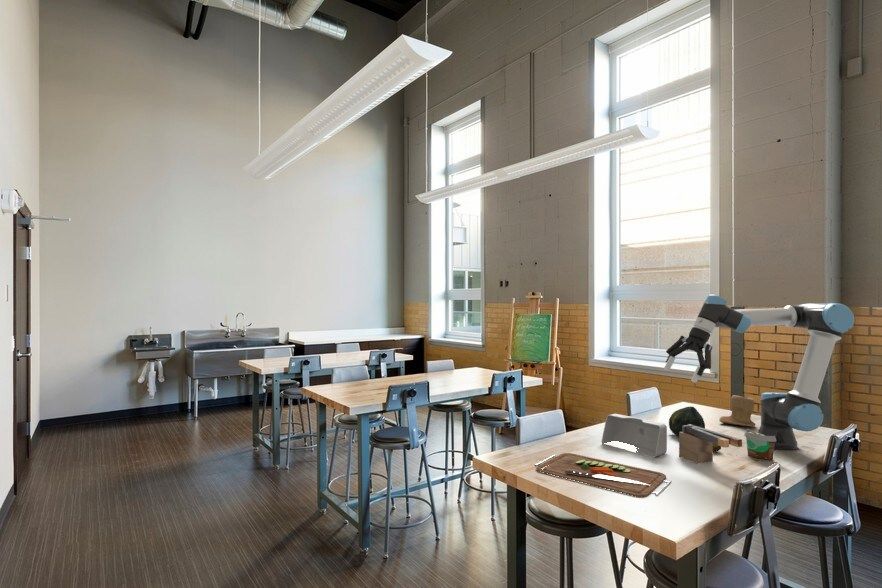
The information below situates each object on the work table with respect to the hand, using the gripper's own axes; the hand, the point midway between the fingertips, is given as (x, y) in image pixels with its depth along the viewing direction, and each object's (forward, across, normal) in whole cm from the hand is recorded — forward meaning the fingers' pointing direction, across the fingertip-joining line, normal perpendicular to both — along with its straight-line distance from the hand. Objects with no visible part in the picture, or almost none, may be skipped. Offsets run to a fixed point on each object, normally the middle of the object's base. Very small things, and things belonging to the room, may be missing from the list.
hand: (679, 376), depth 209 cm
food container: (+16, +23, +33) cm, 44 cm away
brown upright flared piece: (+6, -15, +77) cm, 79 cm away
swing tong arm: (+18, +20, +3) cm, 27 cm away
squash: (+22, -10, +38) cm, 45 cm away
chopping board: (+47, +12, -31) cm, 58 cm away
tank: (+35, -6, +5) cm, 36 cm away
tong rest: (+26, +21, +10) cm, 35 cm away
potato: (+24, +7, +25) cm, 35 cm away
